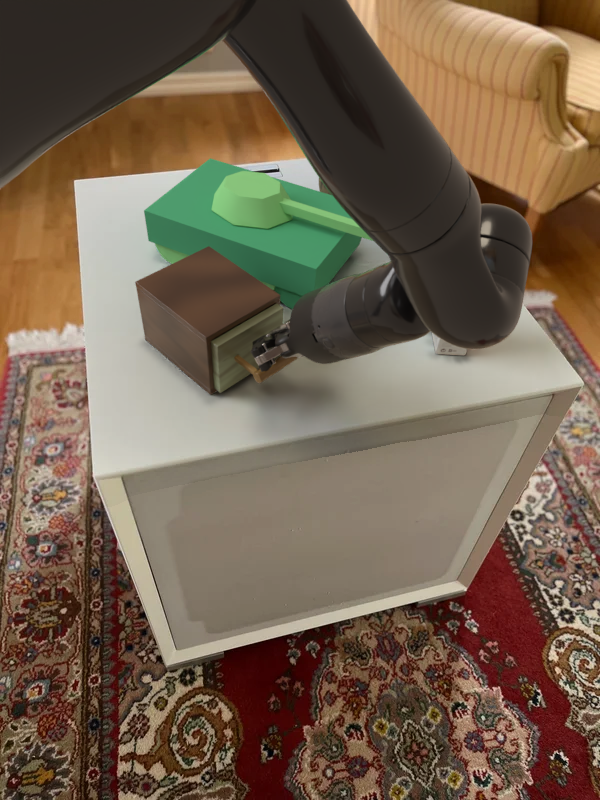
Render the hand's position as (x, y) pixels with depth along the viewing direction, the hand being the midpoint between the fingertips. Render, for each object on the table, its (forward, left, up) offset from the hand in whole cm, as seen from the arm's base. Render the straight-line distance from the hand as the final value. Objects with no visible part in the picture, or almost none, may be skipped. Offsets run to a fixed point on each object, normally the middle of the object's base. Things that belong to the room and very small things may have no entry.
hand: (260, 347), depth 76 cm
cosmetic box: (+23, +14, -6) cm, 28 cm away
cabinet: (-8, +5, -6) cm, 11 cm away
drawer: (-4, +3, -5) cm, 8 cm away
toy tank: (-3, +25, -6) cm, 26 cm away
